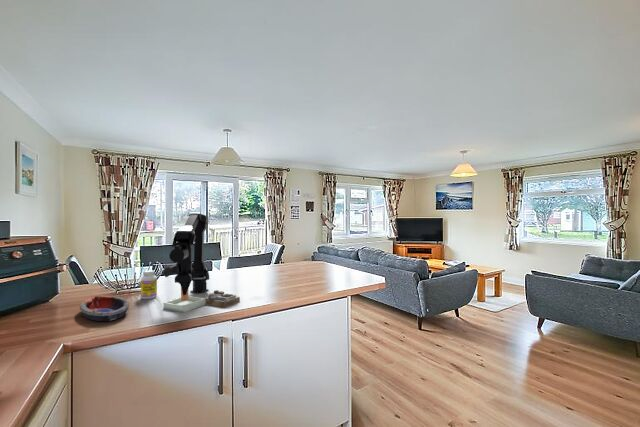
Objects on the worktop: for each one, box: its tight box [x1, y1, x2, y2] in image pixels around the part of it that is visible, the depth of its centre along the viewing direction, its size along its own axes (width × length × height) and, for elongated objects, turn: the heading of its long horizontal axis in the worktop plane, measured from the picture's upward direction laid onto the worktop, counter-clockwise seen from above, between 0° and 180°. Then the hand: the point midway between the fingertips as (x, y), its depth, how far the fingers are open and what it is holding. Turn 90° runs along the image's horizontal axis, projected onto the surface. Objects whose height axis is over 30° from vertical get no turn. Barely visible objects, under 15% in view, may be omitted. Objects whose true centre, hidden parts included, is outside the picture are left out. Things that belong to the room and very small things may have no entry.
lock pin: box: [180, 288, 189, 301], centre depth 129 cm, size 4×4×8 cm
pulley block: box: [203, 289, 241, 308], centre depth 135 cm, size 14×10×5 cm
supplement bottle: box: [140, 269, 158, 300], centre depth 143 cm, size 7×7×13 cm
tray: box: [162, 295, 207, 313], centre depth 129 cm, size 12×12×2 cm
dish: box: [79, 295, 130, 322], centre depth 121 cm, size 16×31×5 cm, turn 46°
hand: (184, 293), depth 129 cm, fingers open, 3 cm apart
